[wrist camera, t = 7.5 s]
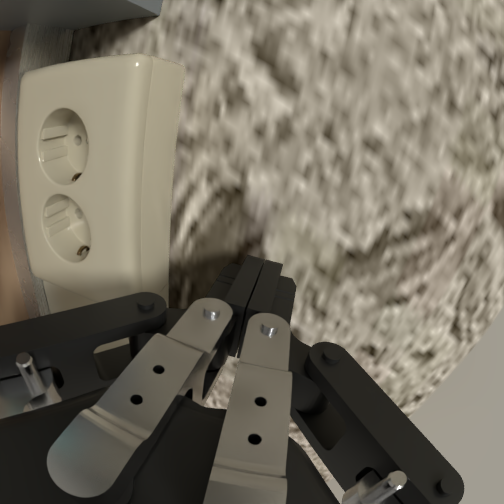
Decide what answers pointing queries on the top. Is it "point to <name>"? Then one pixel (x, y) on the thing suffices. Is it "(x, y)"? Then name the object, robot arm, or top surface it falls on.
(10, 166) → the metal rail
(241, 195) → the top surface
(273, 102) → the top surface
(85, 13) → the module
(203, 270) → the top surface
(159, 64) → the electrical outlet
